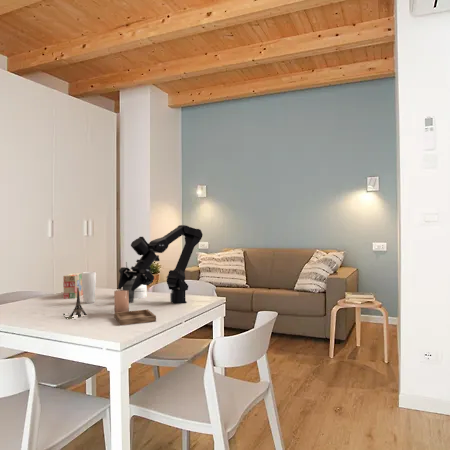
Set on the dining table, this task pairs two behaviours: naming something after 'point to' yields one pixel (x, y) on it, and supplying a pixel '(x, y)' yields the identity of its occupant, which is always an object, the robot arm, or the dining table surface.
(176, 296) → the robot arm
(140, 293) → the honey pot
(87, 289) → the white tall cylinder
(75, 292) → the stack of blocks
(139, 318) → the tray
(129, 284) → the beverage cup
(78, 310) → the eiffel tower figurine
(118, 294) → the pinkish-brown upright cylinder
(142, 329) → the dining table surface
